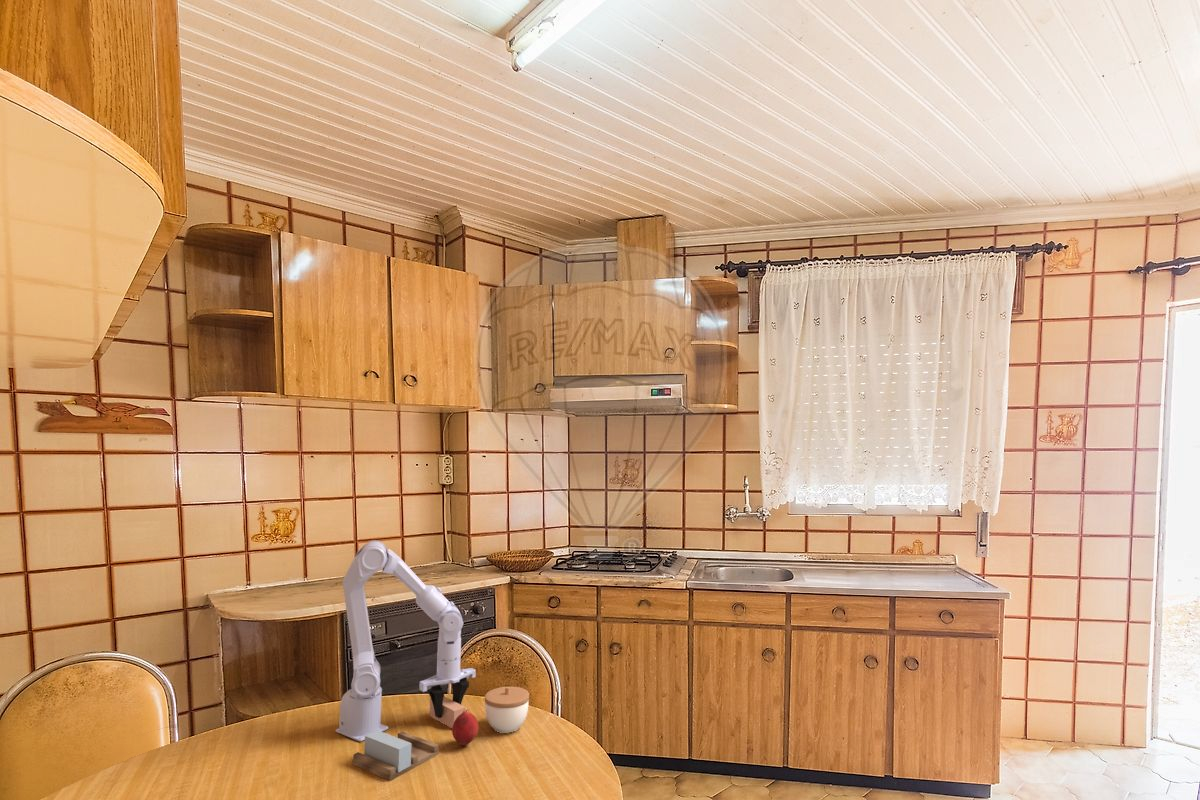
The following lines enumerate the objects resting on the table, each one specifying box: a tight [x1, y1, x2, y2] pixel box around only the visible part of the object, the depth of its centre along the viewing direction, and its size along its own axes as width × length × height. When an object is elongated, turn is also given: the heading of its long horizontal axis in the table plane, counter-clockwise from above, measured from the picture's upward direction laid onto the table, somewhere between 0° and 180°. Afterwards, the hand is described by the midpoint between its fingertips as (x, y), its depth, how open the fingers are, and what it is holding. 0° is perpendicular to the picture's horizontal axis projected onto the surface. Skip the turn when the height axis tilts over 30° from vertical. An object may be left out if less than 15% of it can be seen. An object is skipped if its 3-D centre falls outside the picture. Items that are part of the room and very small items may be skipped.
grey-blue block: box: [363, 730, 412, 772], centre depth 127 cm, size 11×3×4 cm, turn 58°
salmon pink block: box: [429, 695, 467, 729], centre depth 148 cm, size 11×3×4 cm, turn 47°
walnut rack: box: [352, 731, 440, 782], centre depth 129 cm, size 12×13×2 cm
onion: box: [451, 707, 479, 747], centre depth 136 cm, size 6×6×8 cm
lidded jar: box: [484, 686, 530, 734], centre depth 145 cm, size 11×11×9 cm
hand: (447, 713), depth 148 cm, fingers open, 4 cm apart
